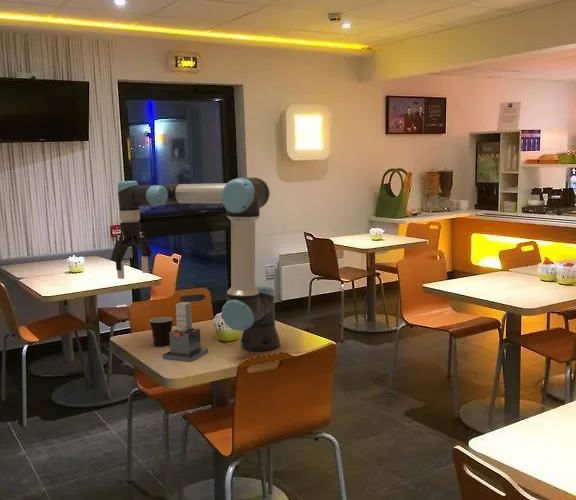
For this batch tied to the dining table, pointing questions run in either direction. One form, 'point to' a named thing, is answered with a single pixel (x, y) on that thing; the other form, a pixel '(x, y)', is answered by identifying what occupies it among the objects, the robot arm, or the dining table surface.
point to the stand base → (185, 346)
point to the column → (184, 317)
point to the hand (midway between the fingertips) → (133, 275)
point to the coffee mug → (161, 331)
